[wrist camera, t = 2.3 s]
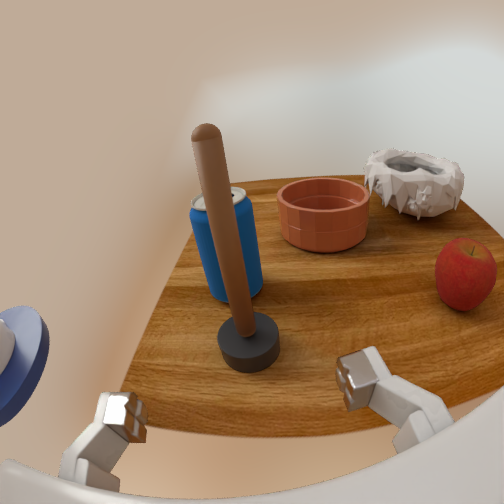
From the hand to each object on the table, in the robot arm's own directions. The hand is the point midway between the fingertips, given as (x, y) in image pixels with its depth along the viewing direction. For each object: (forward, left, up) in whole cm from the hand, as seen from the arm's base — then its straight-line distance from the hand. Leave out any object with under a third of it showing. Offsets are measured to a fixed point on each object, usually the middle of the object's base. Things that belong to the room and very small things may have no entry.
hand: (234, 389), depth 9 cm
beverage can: (+5, +20, -12) cm, 24 cm away
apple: (+26, +3, -12) cm, 29 cm away
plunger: (+3, +11, -12) cm, 16 cm away
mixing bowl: (+22, +26, -12) cm, 36 cm away
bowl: (+42, +23, -12) cm, 50 cm away
